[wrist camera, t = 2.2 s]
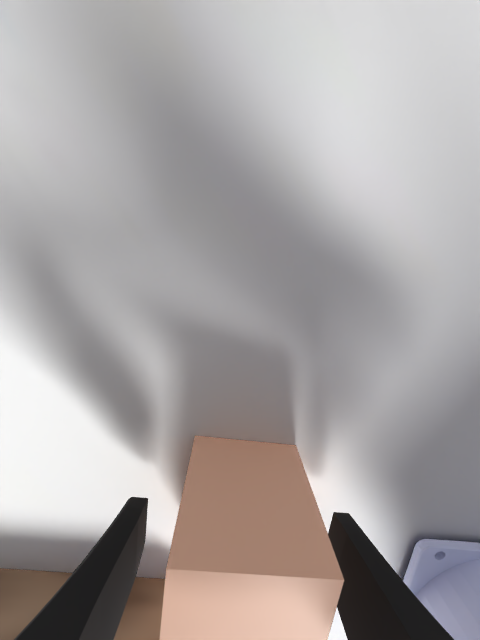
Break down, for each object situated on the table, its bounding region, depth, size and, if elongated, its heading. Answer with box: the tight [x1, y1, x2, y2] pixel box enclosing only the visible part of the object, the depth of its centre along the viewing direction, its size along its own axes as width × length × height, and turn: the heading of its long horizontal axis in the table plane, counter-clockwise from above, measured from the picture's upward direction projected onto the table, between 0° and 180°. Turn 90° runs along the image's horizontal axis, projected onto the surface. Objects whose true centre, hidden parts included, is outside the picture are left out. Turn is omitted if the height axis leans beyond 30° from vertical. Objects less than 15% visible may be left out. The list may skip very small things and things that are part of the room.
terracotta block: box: [160, 436, 344, 640], centre depth 9 cm, size 4×4×5 cm
